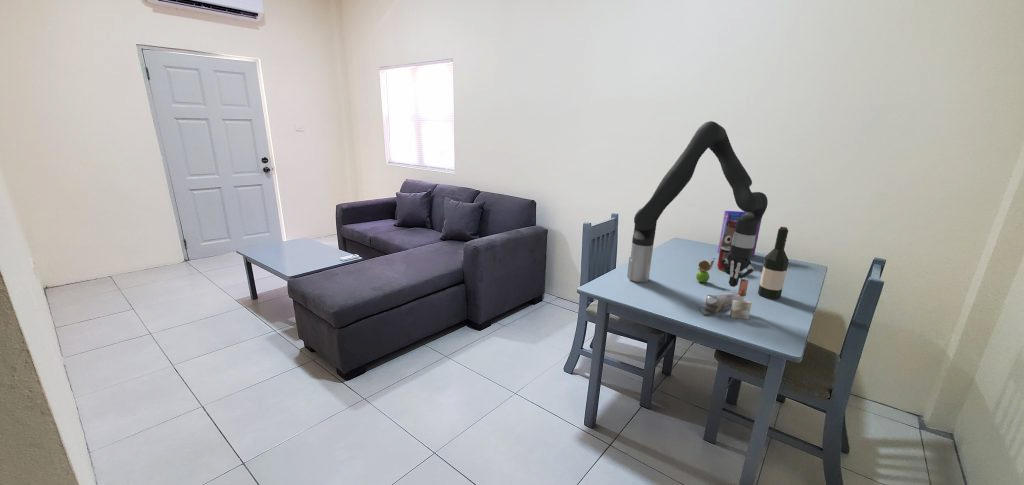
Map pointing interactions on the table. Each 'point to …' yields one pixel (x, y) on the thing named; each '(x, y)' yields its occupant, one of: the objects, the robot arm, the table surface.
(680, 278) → the table surface
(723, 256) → the soda can
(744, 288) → the bar
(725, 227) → the cereal box
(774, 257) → the wine bottle
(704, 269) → the snail figurine
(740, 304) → the base
